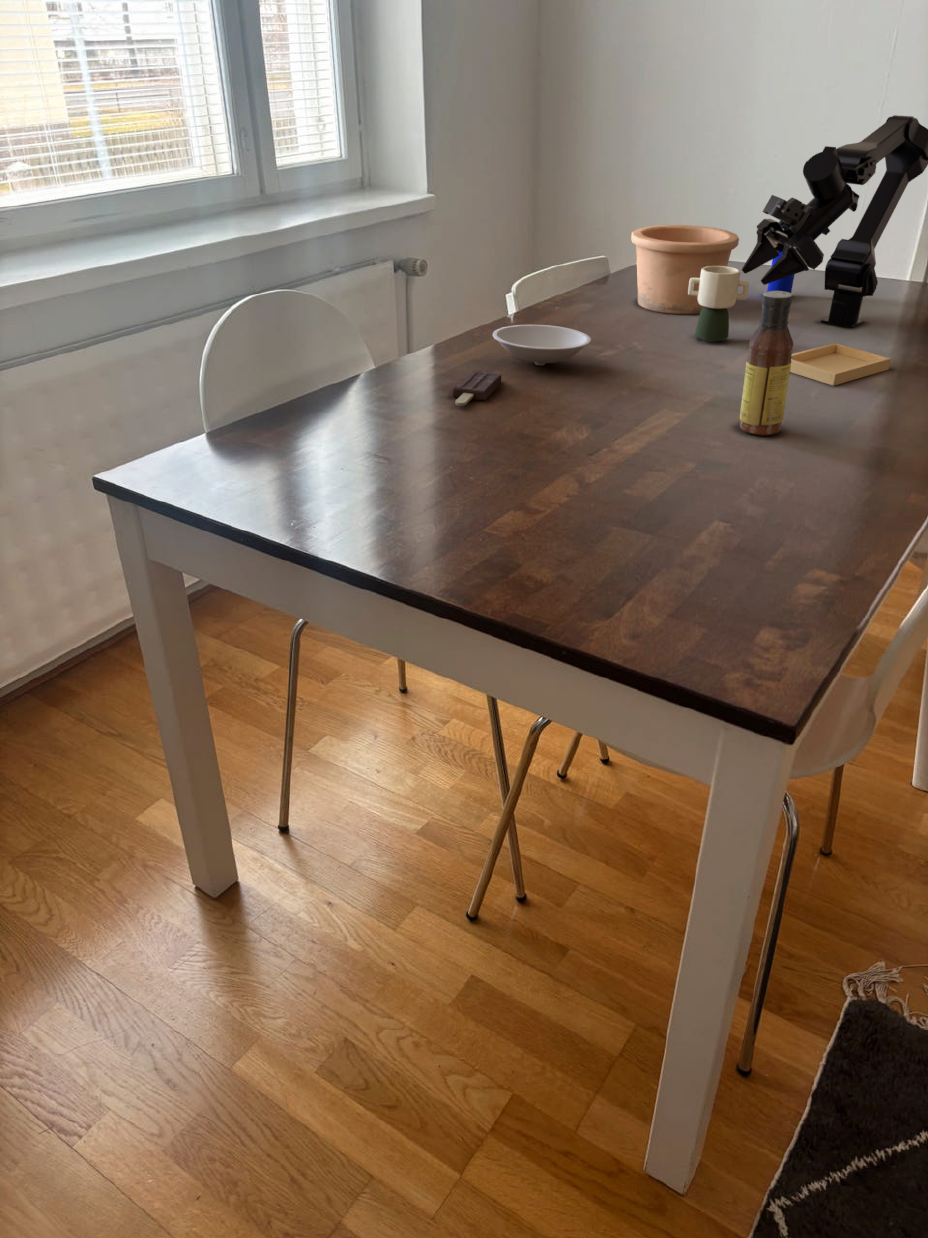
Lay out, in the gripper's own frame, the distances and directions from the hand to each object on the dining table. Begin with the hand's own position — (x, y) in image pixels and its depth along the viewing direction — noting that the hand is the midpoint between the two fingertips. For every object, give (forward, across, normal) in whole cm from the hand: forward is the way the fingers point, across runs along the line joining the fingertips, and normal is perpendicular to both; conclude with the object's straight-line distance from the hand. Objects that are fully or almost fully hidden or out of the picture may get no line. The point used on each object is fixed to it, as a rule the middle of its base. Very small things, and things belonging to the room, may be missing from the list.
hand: (752, 277), depth 178 cm
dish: (+38, +11, -21) cm, 45 cm away
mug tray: (+2, +20, +14) cm, 25 cm away
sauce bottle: (+20, +46, -3) cm, 50 cm away
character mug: (+13, 0, +4) cm, 13 cm away
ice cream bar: (+48, +26, -31) cm, 63 cm away
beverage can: (-6, -31, +23) cm, 39 cm away
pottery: (+11, -27, +5) cm, 30 cm away
